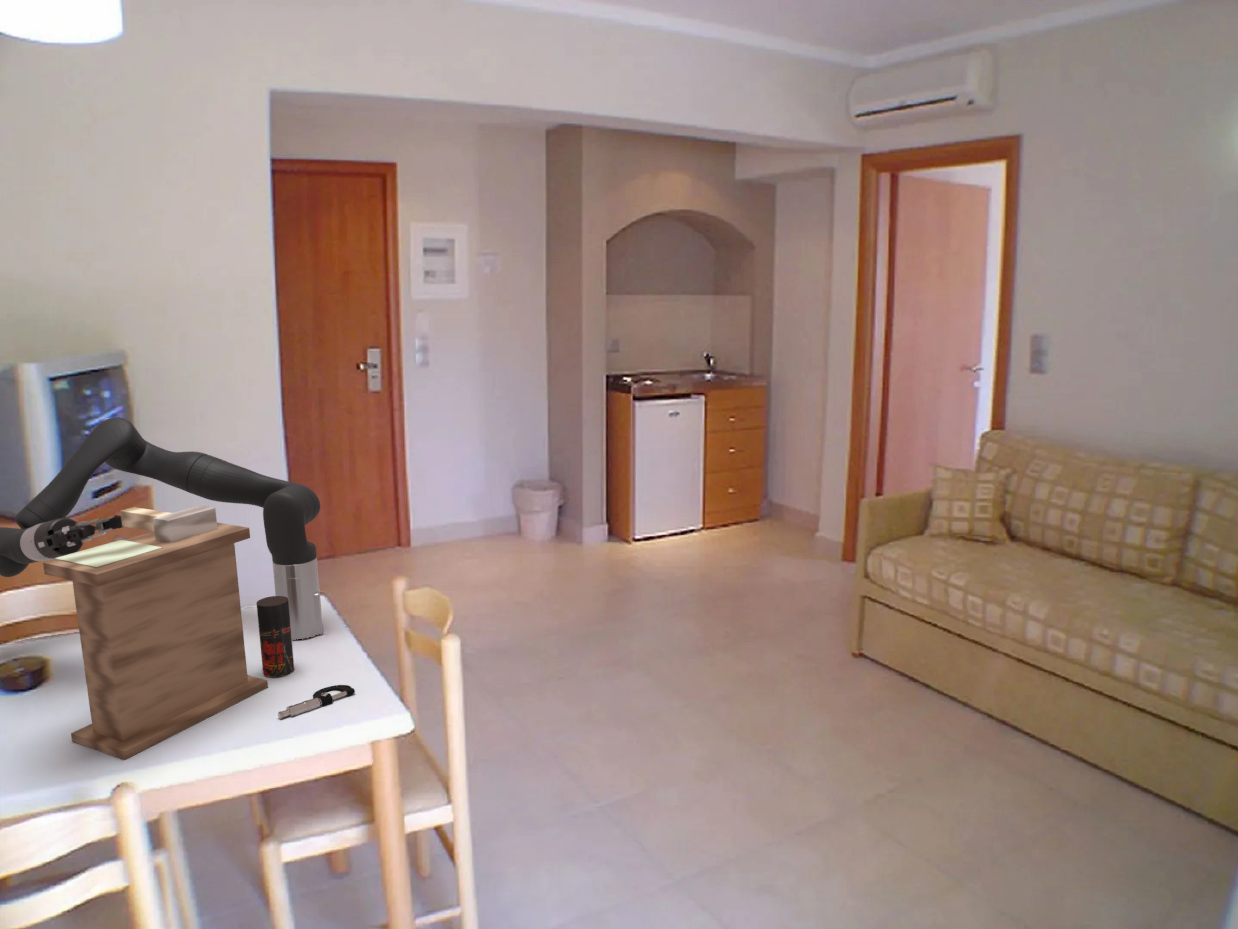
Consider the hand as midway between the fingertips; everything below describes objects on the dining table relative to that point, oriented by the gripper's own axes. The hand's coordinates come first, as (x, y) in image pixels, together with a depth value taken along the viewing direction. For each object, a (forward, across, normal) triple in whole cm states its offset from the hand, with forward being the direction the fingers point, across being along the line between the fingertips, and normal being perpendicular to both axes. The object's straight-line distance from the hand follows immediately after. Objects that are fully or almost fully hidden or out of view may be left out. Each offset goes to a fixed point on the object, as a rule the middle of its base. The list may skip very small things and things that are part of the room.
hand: (105, 526), depth 173 cm
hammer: (+12, +2, +3) cm, 13 cm away
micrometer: (+30, +6, +42) cm, 52 cm away
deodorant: (+15, +14, +38) cm, 43 cm away
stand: (+10, -6, +36) cm, 37 cm away
